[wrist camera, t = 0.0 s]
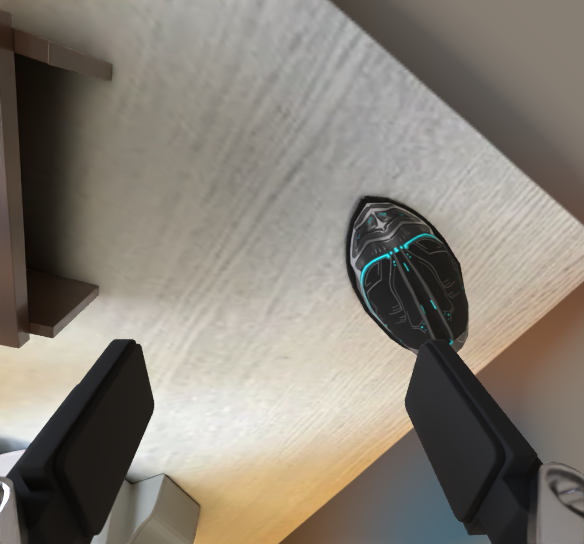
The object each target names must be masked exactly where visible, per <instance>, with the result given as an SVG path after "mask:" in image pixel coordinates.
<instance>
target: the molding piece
mask: <svg viewBox="0 0 584 544" xmlns="http://www.w3.org/2000/svg"><path fill="white" fill-rule="evenodd" d="M25 451H26V449H24V450H18V451H14V452H9V453H4V454H0V476H2V477H5V476H6V475H7V474H8V473H9V471H10V470H11V469H12V467H13V466H14V465H15V464H16V462H17V461H18V460H19V458H20V457H21V456H22V454H23V453H24V452H25Z"/></svg>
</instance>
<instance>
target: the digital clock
mask: <svg viewBox="0 0 584 544" xmlns="http://www.w3.org/2000/svg"><path fill="white" fill-rule="evenodd" d="M200 509H201V508H200V506H198V505H197V504H196V503H195V502H194V501H193V500H192V499H191V498H190V497H189V496H187V495H186V494H185V493H184V492H183V491H182V490H181V489H180V488H179V487H178V486H176V485H175V484H174V483H173V482H172V481H171V480H170V479H169V478H168V477H167V476H165V475H164V474H161V475H158V476H155V477H152V478H149V479H146V480H143V481H140V482H137V483H134V484H130V483H129V482H127V481H126V480H125V479H124V481H123V484H122V486H121V488H120V491H119V493H118V495H117V498H116V500H115V502H114V505H113V507H112V509H111V512H110V514H109V516H108V518H107V521H106V523H105V525H104V527H103V529H102V531H101V533H100V534H99V535H96V536H94V537H93V539H92V542H91V544H193V543H194V539H195V535H196V530H197V525H198V520H199V514H200Z"/></svg>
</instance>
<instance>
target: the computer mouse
mask: <svg viewBox="0 0 584 544" xmlns="http://www.w3.org/2000/svg"><path fill="white" fill-rule="evenodd" d="M346 264H347V271H348V275H349V278H350V281H351V284H352V287H353V289H354V291H355V293H356V295H357V297H358V299H359V301H360V302H361V304H362V306H363V308H364V310H365V312H366V313H367V314H368V315H369V316H370V317H371V318H372V319H373V320H374V321H375V322H376V323H377V324H378V326H379V327H380V328H381V329H382V330H383V331H384V332H385V333H386V334H387V335H388V336H389V337H390V338H391V339H392V340H393V341H395V342H396V343H398V344H399V345H401V346H402V347H403V348H406V349H408V350H410V351H412V352H413V353H415V354H416V355H418V352H419V348H420V345H421V344H424V343H425V341H426V340H428V339H444V340H446V341H447V342H448V343H449V344H450V345H451V346H452V348H453V349H454V350H455V351H456V352H458V351H459V350H460V349H461V348H462V347H463V345H464V343H465V341H466V339H467V337H468V301H467V298H466V294H465V289H464V283H463V278H462V272H461V266H460V263H459V262H458V260H457V258H456V257H455V255H454V253H453V252H452V250H451V249H450V247H449V245H448V244H447V242H446V240H445V239H444V238H443V236H442V235H441V234H440V233H439V232H438V231H437V229H436V228H435V227H434V226H433V225H432V224H431V223H430V222H429V221H427V220H426V219H425V218H424V217H423V216H421V215H420V214H419V213H417V212H416V211H415V210H413V209H411V208H409V207H408V206H406V205H404V204H402V203H399V202H396V201H394V200H391V199H388V198H380V197H370V196H365V198H364V199H361V201H360V203H359V205H358V207H357V209H356V211H355V213H354V215H353V217H352V219H351V222H350V226H349V231H348V235H347V242H346Z"/></svg>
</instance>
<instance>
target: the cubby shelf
mask: <svg viewBox="0 0 584 544" xmlns="http://www.w3.org/2000/svg"><path fill="white" fill-rule="evenodd" d="M14 53H17V54H20V55H23V56H26V57H29V58H31V59H34V60H37V61H40V62H43V63H46V64H49V65H52V66H56V67H60V68H63V69H67V70H71V71H74V72H78V73H82V74H85V75H89V76H93V77H96V78H100V79H104V80H108V81H111V75H112V64H110V63H108V62H105V61H102V60H100V59H97V58H94V57H92V56H89V55H86V54H84V53H81V52H79V51H76V50H73V49H71V48H68V47H65V46H63V45H60V44H57V43H55V42H52V41H49V40H47V39H44V38H41V37H38V36H36V35H33V34H30V33H27V32H25V31H22V30H19V29H17V28H14V27H13V25H12V14H11V13H9V12H6V11H4V10H2V9H0V345H4V346H9V347H14V348H20V347H21V346H22V345H24V344H25V343H26V342H27V341H28V340H29V339H30V336H29V333H30V334H35V335H40V336H45V337H49V338H54V337H55V336H56V335H57V334H58V333H59V332H60V331H61V330H62V329H63V328H64V327H65V326H67V325H68V324H69V323H70V322H71V321H72V320H73V319H74V318H75V317H76V316H77V315H78V314H79V313H80V312H81V311H82V310H83V309H84V308H85V307H87V306H88V305H89V304H90V303H91V302H92V301H93V300H94V299H95V298H96V297H97V296H98V290H99V286H96V285H92V284H87V283H83V282H79V281H75V280H70V279H66V278H62V277H58V276H54V275H49V274H45V273H41V272H37V271H33V270H28V269H26V263H25V245H24V226H23V208H22V190H21V171H20V153H19V135H18V117H17V98H16V80H15V62H14Z"/></svg>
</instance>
